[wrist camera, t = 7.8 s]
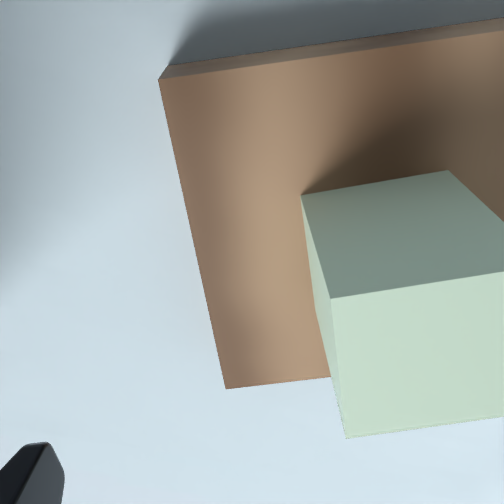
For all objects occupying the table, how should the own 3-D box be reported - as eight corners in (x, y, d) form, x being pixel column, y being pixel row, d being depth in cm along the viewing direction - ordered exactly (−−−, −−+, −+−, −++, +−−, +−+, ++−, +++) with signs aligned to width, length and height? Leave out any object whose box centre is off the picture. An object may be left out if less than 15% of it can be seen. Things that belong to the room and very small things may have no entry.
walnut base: (226, 343, 24) (225, 389, 21) (169, 63, 17) (157, 79, 14) (495, 310, 23) (528, 353, 20) (543, 9, 16) (600, 16, 14)
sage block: (315, 310, 19) (346, 438, 14) (300, 195, 16) (330, 299, 11) (443, 290, 19) (524, 413, 13) (447, 170, 16) (549, 264, 11)
